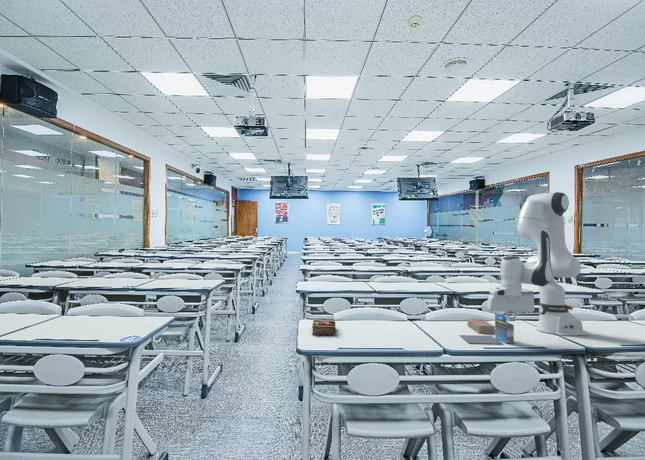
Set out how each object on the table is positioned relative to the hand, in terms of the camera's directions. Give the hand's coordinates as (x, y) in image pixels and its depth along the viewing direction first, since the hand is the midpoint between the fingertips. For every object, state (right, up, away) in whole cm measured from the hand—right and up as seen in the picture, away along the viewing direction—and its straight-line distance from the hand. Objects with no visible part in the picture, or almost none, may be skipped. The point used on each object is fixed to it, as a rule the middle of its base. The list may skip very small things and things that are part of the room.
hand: (510, 321), depth 171 cm
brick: (-5, -10, +21) cm, 24 cm away
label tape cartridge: (-3, -10, 0) cm, 10 cm away
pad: (-14, -9, +1) cm, 16 cm away
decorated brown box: (-86, -9, +14) cm, 88 cm away
